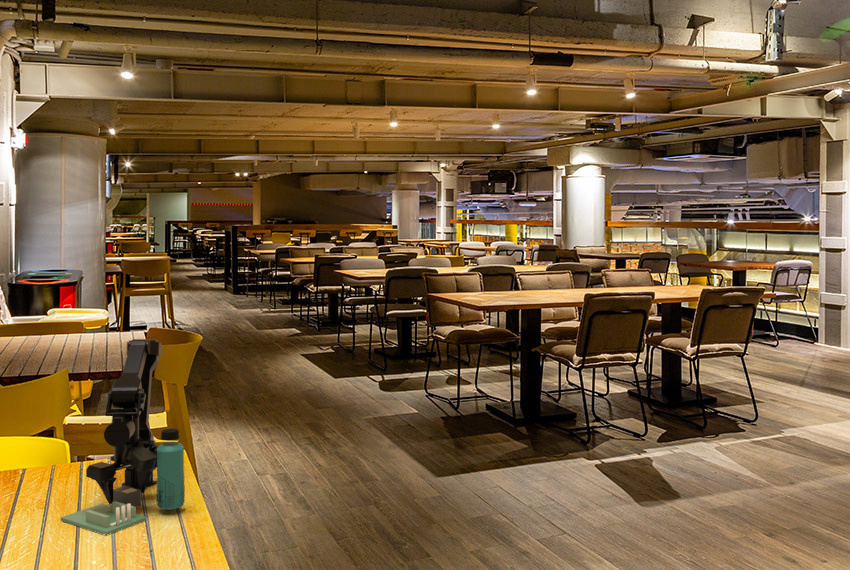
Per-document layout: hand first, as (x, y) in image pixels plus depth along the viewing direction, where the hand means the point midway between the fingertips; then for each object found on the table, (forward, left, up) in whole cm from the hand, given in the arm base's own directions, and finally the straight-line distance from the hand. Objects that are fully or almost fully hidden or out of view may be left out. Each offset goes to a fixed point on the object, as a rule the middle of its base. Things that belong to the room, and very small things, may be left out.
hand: (126, 498), depth 188 cm
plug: (0, 0, -2) cm, 2 cm away
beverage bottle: (-3, +12, -2) cm, 13 cm away
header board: (+9, +4, -2) cm, 10 cm away
